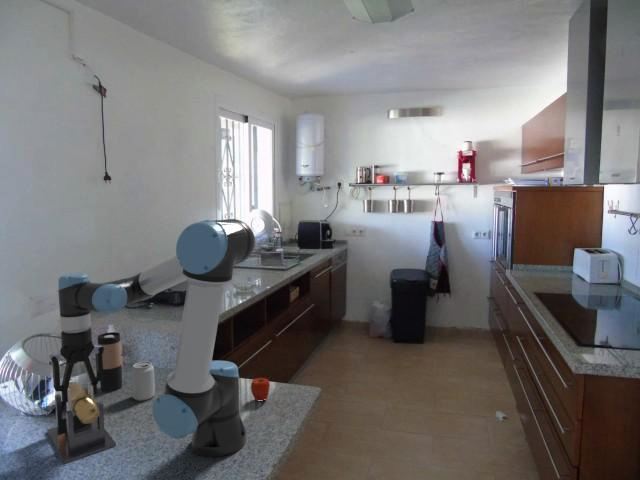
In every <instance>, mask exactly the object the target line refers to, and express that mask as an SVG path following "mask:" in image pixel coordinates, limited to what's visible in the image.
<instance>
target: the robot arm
mask: <svg viewBox="0 0 640 480" xmlns="http://www.w3.org/2000/svg"><path fill="white" fill-rule="evenodd" d="M255 246H256V237H255V235H254V231H253V230H252V228H251V227H250V226H249V225H248V224H247V223H245V222H244V221H242V220H239V219H235V218H228V219H227V218H226V219H218V220H217V219H213V220H211V219H209V220H208V219H205V220H201V221H197V222H194V223H192V224H190V225H188V226H187V227H185V228H184V229H183V231H182V232H181V233H180V234H179V236H178V238H177V241H176V245H175V254H176V255H174V256H173V257H170V258H169V259H166V260H163V261H162V262H160V263H157V264H156V265H154V266H152V267H149V268H147V269H146V270H143V271H141V272H139V273H138V274H135V275H133V276H129V277H126V278H121V279H115V280H112V281H105V282H102V283H101V282H99V283H98V282H90V278H89V275H88V274H87V273H83V272H81V273H80V272H79V273H78V272H77V273H76V272H75V273H68V274H63V275H60V276H59V279H58V289H57V292H58V303H59V304H58V305H59V306H58V307H59V318H60V319H59V320H60V330H61V332H60V340H61V348H60V350H59V352H57V353H55V354H50V355H49V359H50V362H51V363H52V380H53V381H52V383H53V385H52V386H53V389H54V391H55V392H61V402H63V403H65V404H66V412H67V411H70V410H71V411H72V412H73V409H72V401H71V390H70V389H69V388H68V387H69V383H70V382H71V377H72V372H73V369H74V366H75V364H76V363H79V362H82V363H83V365H84V368H85V370H86V373H87V377H88V379H89V381H90V382H87V387H88V396H89V397H90V398H91V399H92V400H93V402H94V403H95V401H94V400H95V395H97V394H98V384H99V383H100V381H102V380H103V379H104V377H103V360H102V354H103V351H104V348H103V347H102V346H101V345H98V344H97V345H94V343H93V337H92V336H93V335H92V334H93V333H92V328H91V326H92V319H91V318H92V317H91V316H92V315H91V312H100V313H105V314H109V313H114V314H115V313H118V312H120V311H122V309H123V308H125V306H127V305H130V304H135V303H137V302H138V303H139V302H143V301H146V300H148V299H151V298H153V297H154V296H156V295H157V294H159V293H161V292H163V291H165V290H168V289H170V288H172V287H174V286H177V285H178V284H179V285H180V284H181V283H183V282H185V281H187V285H186V291H185V298H184V304H183V305H184V306H183V312H182V319H181V326H180V332H179V339H178V344H177V352H176V359H175V364H174V365H175V367H174V370H173V371H172V372H170V373H169V374H168V376H167V377H166V382H165V383H166V384H165V388H164V393H163V394H160V395H159V396H158V397H157V398H156V399H155V401H154V402H153V406H152V416H153V419H154V421H155V423H156V424H157V426H158V428H159V430H160V431H161V432H163V434H165V435H167V436H168V437H171V438H174V439H183V438H186V437H189V435H191V434H192V436H191V448H192V451H194V453H195V454H197V455H200V456H203V457H209V458H213V457H214V458H215V457H217V458H218V457H223V456H228V455H231V454H233V453H235V452H238V451H240V450H241V449H242V448H243V447H244V446H245V444H246V443H247V430H246V428H245V425H244V421H243V420H242V416H241V414H240V382H239V381H240V380H239V379H240V375H239V367H238V366H237V364H236V363H235V362H231V361H229V360H213V355H214V349H215V343H216V337H217V333H218V332H217V331H218V324H219V317H220V314H221V313H220V312H221V307H222V301H223V295H224V290H225V286H226V285H228V283H230V282H231V281H232V280H233V279H232V278H233V273H234V268H235V265H238V264H241V263H243V262H245V261H246V260H248V259H249V258H250V257H251V255H252V254H253V252H254V250H255ZM92 352H94V354H95V356H94V357H95V367H96V368H95V371H96V375H95V373H94V369H93V367H92V364H91V360H90V355H91V354H92ZM62 357H63V359H65V360H66V361H65V368H64V372H63V377H62V382H61V376H60V375H61V373H60V362H61V358H62Z"/></svg>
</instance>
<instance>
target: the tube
mask: <svg viewBox="0 0 640 480" xmlns="http://www.w3.org/2000/svg"><path fill="white" fill-rule="evenodd" d="M68 388H69V389H70V390H71V401H72V412H73V413H75V414H76V415H77V416H78V418H79V419H80V421H81V422H82V423H84V424H89V423H92V422H94V421H95V420H96V419H97V418H98V416H99V414H100V410H99V408H98V407H97V403H95V401H94V402H93V400H92V399H91V398H90V397H89V396H88V395H87V393H86V392H85V391H84V390H83V388H84V387H82V385H80V383H79V382H76V381H70V382H69V387H68Z"/></svg>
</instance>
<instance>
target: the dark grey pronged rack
mask: <svg viewBox="0 0 640 480" xmlns="http://www.w3.org/2000/svg"><path fill="white" fill-rule="evenodd" d="M82 388H83V390H84V391H85V392H86V393H87V395H88V386H85V387H82ZM54 403H55V404H54V406H55V418H56V420H55V421H56V426H55V427H51V428H49V429H47V430H46V432H47V434H48V436H49V438H50V439H51V442H52V444H53V445H54V448H55V447H56V448H55V450H56V451H57V453H58V455H59V457H60V458H61V460H62V462H63V464H64V465H65V464H68V463H71V462H74V461H76V460H81V459H82V458H85V457H88V456H91V455H94V454H96V453H100V452H102V451H103V452H104V451H106V450H109V449H111V448H114V447H116V446H117V442H116V441H115V440H114V439H113V438H112V436H111V434H109V432H108V431H107V430H106V429H105V414H104V413H105V412H104V403H103V402H102V401H99V402H96V405H97V407H98V408H99V410H100V414H99V416H98V418H97V419H96V420H95V421H94V422H92V423H89V424H84V423H82V422H81V421H80V419H79V418H78V416H77V415H76V414H75V413H74V412H73V410H72V411H71V410H70V411H67V410H66V412H65V415H63V410H62V409H63V408H62V407H63V406H62V395H60V394H59V393H58V394H55V395H54Z"/></svg>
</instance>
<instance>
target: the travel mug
mask: <svg viewBox="0 0 640 480" xmlns="http://www.w3.org/2000/svg"><path fill="white" fill-rule="evenodd" d="M121 342H122V341H121V333H119V332H114V331H113V332H106V333H105V332H104V333H101V334H98V335H97V346H98V345H101V346H102V347H103V348H104V351H103V354H102V360H103V377H104V379H103V380H102V381H99V383H100V389H101V390H100V391H101V392H103V393H111V392H115V391H118V390H121V389H122V387H123V360H122V359H123V358H122V346H121V344H122V343H121Z"/></svg>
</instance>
